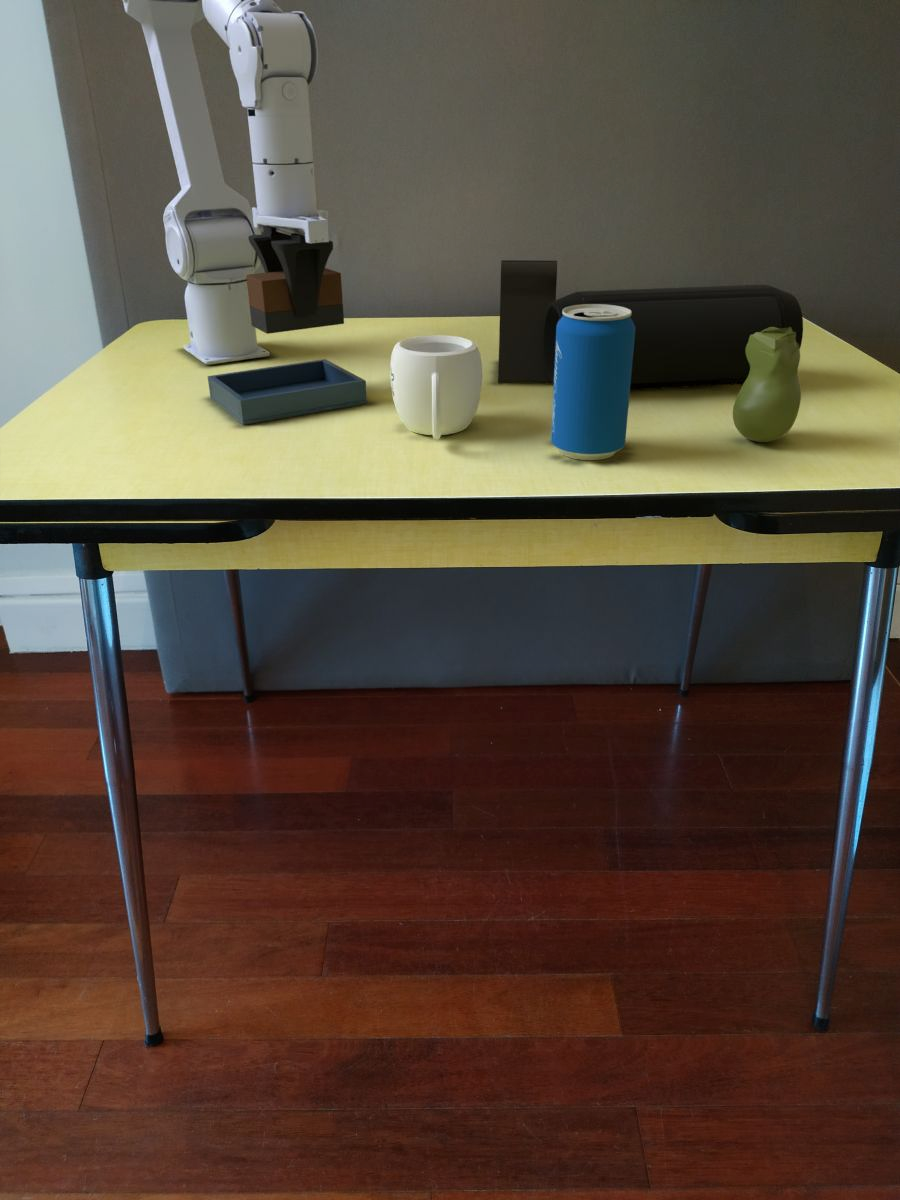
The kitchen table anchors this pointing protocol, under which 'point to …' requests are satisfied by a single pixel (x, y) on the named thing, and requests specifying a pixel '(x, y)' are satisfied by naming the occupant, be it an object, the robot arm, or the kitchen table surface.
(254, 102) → the robot arm
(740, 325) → the portable speaker
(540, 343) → the phone stand
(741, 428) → the pear
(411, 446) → the kitchen table surface
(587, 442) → the beverage can
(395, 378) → the mug
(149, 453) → the kitchen table surface
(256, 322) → the eraser
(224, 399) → the tray
